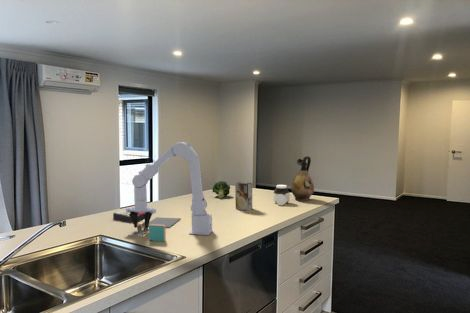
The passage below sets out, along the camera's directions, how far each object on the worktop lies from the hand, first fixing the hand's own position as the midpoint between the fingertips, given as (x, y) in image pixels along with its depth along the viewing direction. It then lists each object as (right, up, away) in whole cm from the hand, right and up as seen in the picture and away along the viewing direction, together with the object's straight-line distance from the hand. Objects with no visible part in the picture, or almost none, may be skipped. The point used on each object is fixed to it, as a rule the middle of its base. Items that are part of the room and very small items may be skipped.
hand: (141, 227), depth 175 cm
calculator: (-13, -1, +26) cm, 29 cm away
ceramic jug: (+92, +4, +77) cm, 120 cm away
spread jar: (+76, +3, +63) cm, 99 cm away
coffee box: (+50, +2, +49) cm, 70 cm away
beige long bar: (0, -2, 0) cm, 2 cm away
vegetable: (+35, +5, +89) cm, 96 cm away
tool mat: (+7, -1, +16) cm, 18 cm away
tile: (+11, -3, -14) cm, 18 cm away
